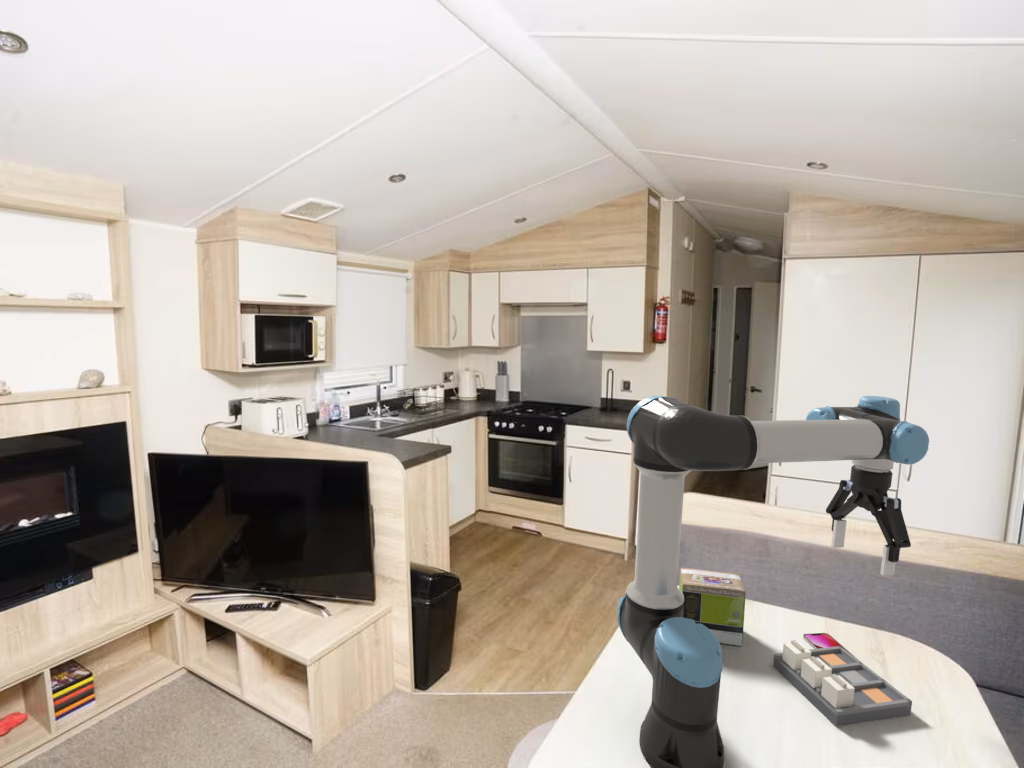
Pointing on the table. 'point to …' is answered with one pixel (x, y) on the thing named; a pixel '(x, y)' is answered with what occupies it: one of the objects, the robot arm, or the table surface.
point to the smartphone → (822, 641)
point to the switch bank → (870, 689)
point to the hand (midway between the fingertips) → (860, 560)
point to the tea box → (715, 602)
